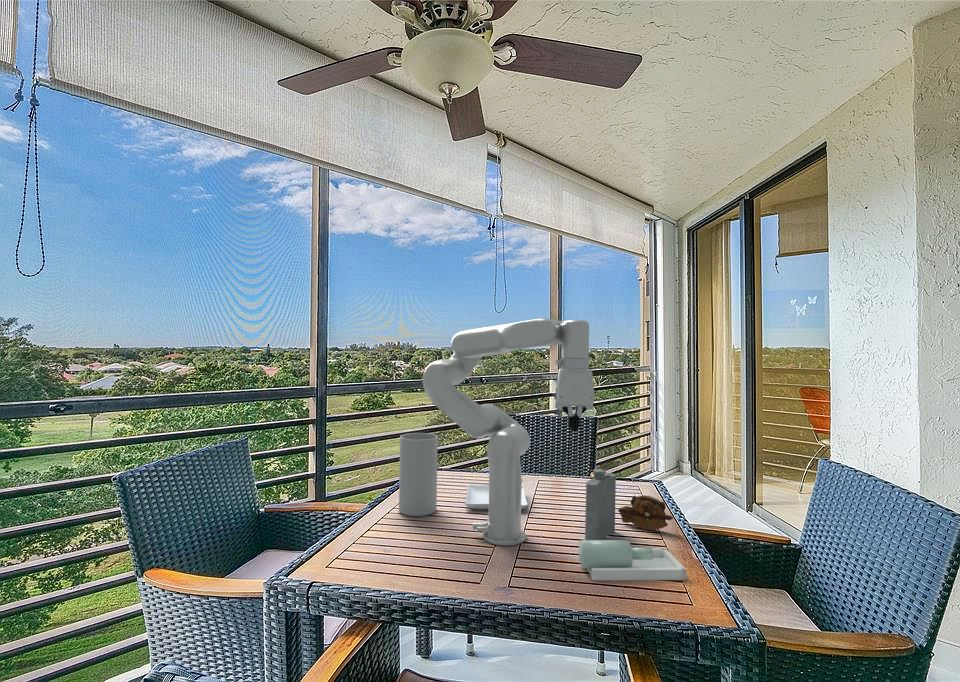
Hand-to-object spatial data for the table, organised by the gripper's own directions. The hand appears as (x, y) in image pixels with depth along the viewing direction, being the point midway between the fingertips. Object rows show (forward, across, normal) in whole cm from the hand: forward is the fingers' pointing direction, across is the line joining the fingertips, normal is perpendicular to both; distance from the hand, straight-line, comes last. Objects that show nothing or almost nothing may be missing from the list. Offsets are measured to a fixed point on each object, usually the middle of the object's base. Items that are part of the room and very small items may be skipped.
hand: (573, 430), depth 142 cm
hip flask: (+33, +10, +8) cm, 36 cm away
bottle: (+29, 0, -12) cm, 32 cm away
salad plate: (+34, -18, +40) cm, 55 cm away
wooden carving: (+33, +26, +15) cm, 45 cm away
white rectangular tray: (+33, +12, -12) cm, 37 cm away
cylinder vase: (+33, -45, +31) cm, 64 cm away
